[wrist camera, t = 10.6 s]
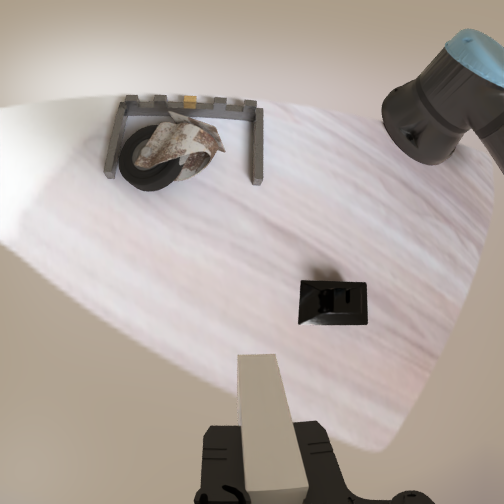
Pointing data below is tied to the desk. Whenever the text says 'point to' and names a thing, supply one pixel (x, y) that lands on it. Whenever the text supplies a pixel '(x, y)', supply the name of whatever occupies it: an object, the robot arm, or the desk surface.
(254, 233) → the desk surface
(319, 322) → the black mounting bracket
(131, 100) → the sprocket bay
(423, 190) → the desk surface
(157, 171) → the caster wheel
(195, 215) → the desk surface
